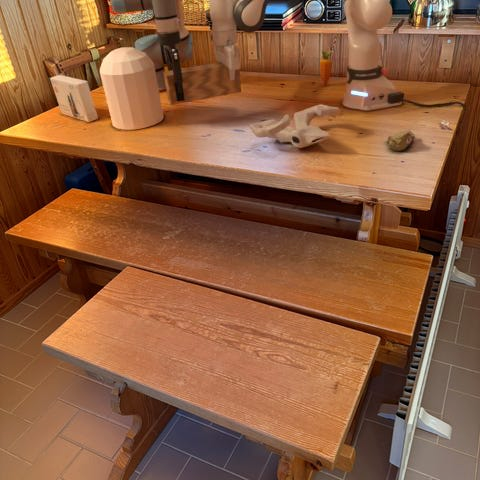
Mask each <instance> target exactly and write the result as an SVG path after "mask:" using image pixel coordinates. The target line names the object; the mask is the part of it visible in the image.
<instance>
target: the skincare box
mask: <svg viewBox="0 0 480 480" xmlns="http://www.w3.org/2000/svg"><path fill="white" fill-rule="evenodd" d="M49 80H50V83H51V86H52V89H53V91H54V95H55V98H56V100H57V103H58V106H59V109H60V112H61V114H62V115H65V116H68V117H71V118H73V119H78V120H81V121H84V122H87V123H91V122H94V121H96V120H98V119H99V116H98V112H97V110H96V107H95V103H94V102H95V101H94V99H93V96H92V93H91V89H90V86H89V82H88V80H84V79H79V78H76V77H71V76H67V75H63V74H57V75H55V76H52V77H49Z"/></svg>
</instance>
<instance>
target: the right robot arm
mask: <svg viewBox="0 0 480 480" xmlns="http://www.w3.org/2000/svg"><path fill="white" fill-rule="evenodd" d="M208 2H209V3H208V4H209V16H210V17H209V18H210V20H211V34H210V41H211V42H212V48H213V54H214V55H213V56H214V58H215V60H216V61H217V62H221V63H223V64H224V65H225V66H226V67H227V68H228V69H229V79H230V80H234V79H235V77H234V74H235V70H238V69H239V70H241V60H240V53H239V48H238V46H236V45H235V44H237V43H238V42H239V40H238V29H239V30H240V31H242V32H244V33H249V34H250V33H255V32H256V31H259V29H260V28H261V27H262V26H263V24H264V22H265V19H266V13H267V12H266V11H267V6H268V5H269V2H270V0H209V1H208ZM343 11H344V14H345V19H346V29H347V37H348V62H347V63H348V65H347V67H346V72H345V73H346V74H345V77H346V78H345V81H346V87H345V91H344V96H343V99H342V102H341V103H342V106H343V107H346V108H349V109H355V110H361V111H364V112H369V111H375V110H380V109H385V108H391V107H397V106H401V105H402V103H403V102H404V103H409V104H412V105H415V106H419V107H426V108H427V107H438V106H439V107H441V106H448V105H454V104H455V105H460V106H462V107H463V108H466V107H467V106H466V105H465V104H464V103H462V102H460V101H449V102H444V103H433V104H424V103H419V102H414V101H412V100H408V99H404V97H405V93H404V92H402V91H397V89H396V86H395V84H394V83H393V82H392V81H391V80H389V79H388V78H387V77H385V76H384V75H386V74H387V73H388V69H387V68H386V67H383V66H381V65H379V63H380V62H379V61H380V49H381V43H380V39H379V36H378V30H381V29H383V28H385V27H386V26H387V25H388V24H389V23H390V22H391V19H392V16H393V7H392V5H391V3H390V0H345V2H344V6H343ZM237 28H238V29H237Z"/></svg>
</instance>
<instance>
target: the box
mask: <svg viewBox="0 0 480 480" xmlns="http://www.w3.org/2000/svg"><path fill="white" fill-rule="evenodd" d="M240 70H241V69H238V70H235V74H234V77H235V79H234V80H230V79H229V69H228V68H227V67H226V66H225V65H224V64H223V63H221V62H219V61H217V62H212V63H206V64H200V65H195V66H189V67H183V68H182V67H181V71H182V77H183V82H182V85H183V92H184V98H185V101H179V102H177V97H176V91H175V84H173V82H175V80H174V75H173V71H172V70H171V71H168V70H165V72H163V73H164V79H165V85H166V90H165V91H166V96H167V101H168V102H169V104H170V105H171V106H174V105H179V104H185V103H191V102H195V101H200V100H205V99H210V98H217V97H222V96H229V95H233V94H238V93H242V83H241V71H240Z"/></svg>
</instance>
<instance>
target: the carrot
mask: <svg viewBox="0 0 480 480" xmlns="http://www.w3.org/2000/svg"><path fill="white" fill-rule="evenodd" d="M321 53H322V56H321V57H322V59H320V61H319V73H320V77H321V78H320V79H321V82H322V83H323V86H327V84H328V83H329V81H330V78H331V73H332V63H333V62H332V59H330V58H329V57H330V55H331V53H332V50H329V51H328V53H327V51H326V50H324V49H323V50H322V51H321Z"/></svg>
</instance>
